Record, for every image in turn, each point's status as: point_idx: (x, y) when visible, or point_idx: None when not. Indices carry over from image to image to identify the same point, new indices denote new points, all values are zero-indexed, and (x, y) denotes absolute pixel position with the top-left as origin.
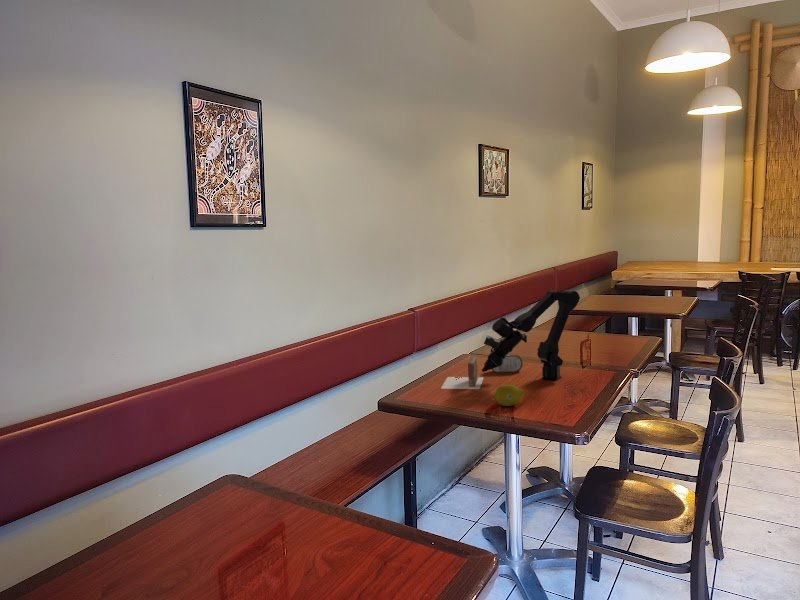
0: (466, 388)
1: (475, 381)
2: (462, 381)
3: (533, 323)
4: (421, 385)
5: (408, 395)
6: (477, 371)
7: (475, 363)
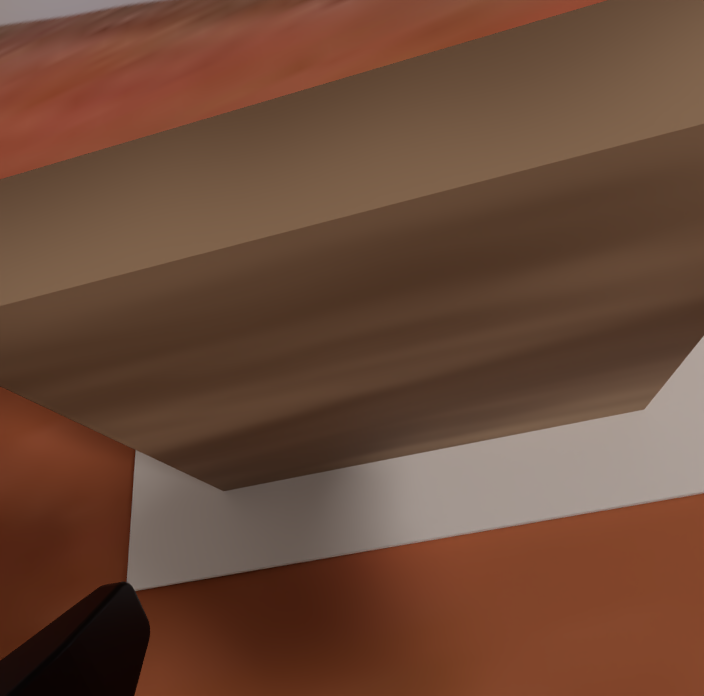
0: None
1: (324, 457)
2: None
3: None
4: (256, 32)
5: (9, 85)
6: (674, 355)
7: (349, 291)
